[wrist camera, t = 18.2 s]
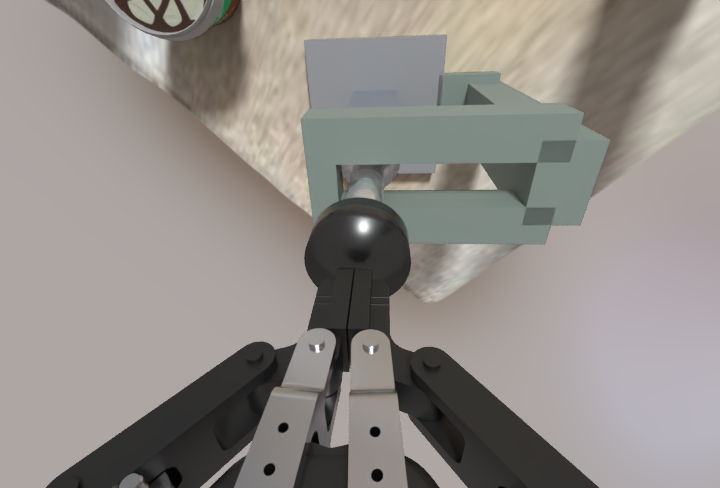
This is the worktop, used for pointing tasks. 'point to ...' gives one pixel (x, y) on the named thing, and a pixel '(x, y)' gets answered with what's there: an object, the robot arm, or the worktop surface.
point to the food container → (174, 16)
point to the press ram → (361, 231)
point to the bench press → (446, 141)
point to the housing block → (373, 99)
